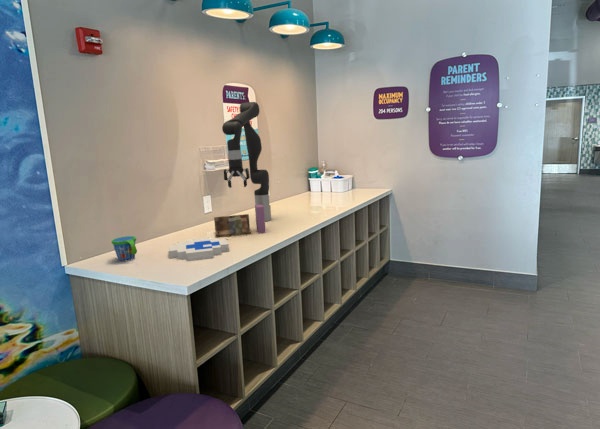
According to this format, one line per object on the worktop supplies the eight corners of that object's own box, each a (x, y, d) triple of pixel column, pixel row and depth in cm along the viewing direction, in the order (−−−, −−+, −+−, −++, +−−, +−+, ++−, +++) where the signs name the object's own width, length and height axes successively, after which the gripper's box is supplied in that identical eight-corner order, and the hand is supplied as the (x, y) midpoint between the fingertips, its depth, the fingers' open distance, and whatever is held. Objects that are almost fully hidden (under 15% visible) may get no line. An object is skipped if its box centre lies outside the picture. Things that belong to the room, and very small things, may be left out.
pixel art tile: (224, 235, 223) (230, 248, 196) (225, 242, 224) (230, 256, 197) (169, 241, 216) (168, 255, 189) (170, 248, 217) (169, 264, 190)
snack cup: (108, 259, 202) (105, 238, 200) (129, 254, 209) (127, 234, 207) (122, 264, 191) (120, 243, 189) (144, 259, 199) (142, 238, 197)
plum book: (263, 229, 249) (261, 204, 246) (265, 232, 240) (263, 206, 237) (256, 229, 248) (254, 204, 246) (258, 233, 239) (256, 207, 236)
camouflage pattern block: (249, 229, 249) (248, 214, 248) (251, 234, 238) (250, 217, 236) (215, 233, 246) (214, 217, 244) (215, 237, 234) (214, 221, 232)
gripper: (249, 157, 236) (251, 185, 239) (224, 158, 238) (227, 186, 241) (245, 158, 229) (248, 187, 232) (220, 159, 231) (223, 188, 234)
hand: (237, 187), depth 237 cm, fingers open, 8 cm apart
